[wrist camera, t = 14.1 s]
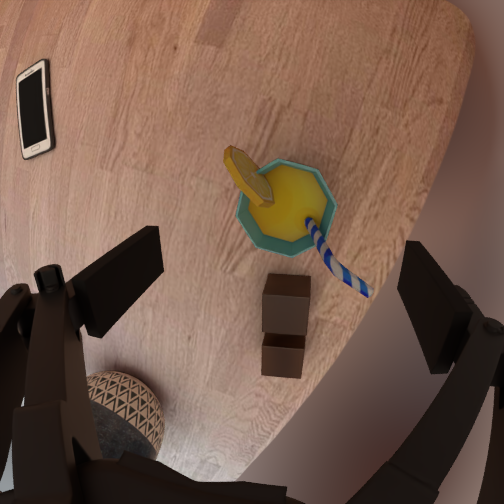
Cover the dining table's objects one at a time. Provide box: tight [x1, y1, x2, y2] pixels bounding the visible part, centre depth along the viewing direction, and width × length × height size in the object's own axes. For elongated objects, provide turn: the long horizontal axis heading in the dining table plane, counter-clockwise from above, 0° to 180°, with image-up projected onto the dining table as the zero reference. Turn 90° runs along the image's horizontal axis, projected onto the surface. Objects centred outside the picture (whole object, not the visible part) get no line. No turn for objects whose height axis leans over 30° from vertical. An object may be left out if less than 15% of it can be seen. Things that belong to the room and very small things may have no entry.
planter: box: [87, 371, 165, 461], centre depth 41 cm, size 20×20×21 cm
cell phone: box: [16, 59, 54, 160], centre depth 33 cm, size 8×15×1 cm, turn 7°
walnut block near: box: [262, 274, 311, 336], centre depth 35 cm, size 5×5×5 cm
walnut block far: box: [261, 332, 305, 379], centre depth 38 cm, size 5×5×5 cm
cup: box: [223, 145, 374, 298], centre depth 26 cm, size 14×8×15 cm, turn 54°
